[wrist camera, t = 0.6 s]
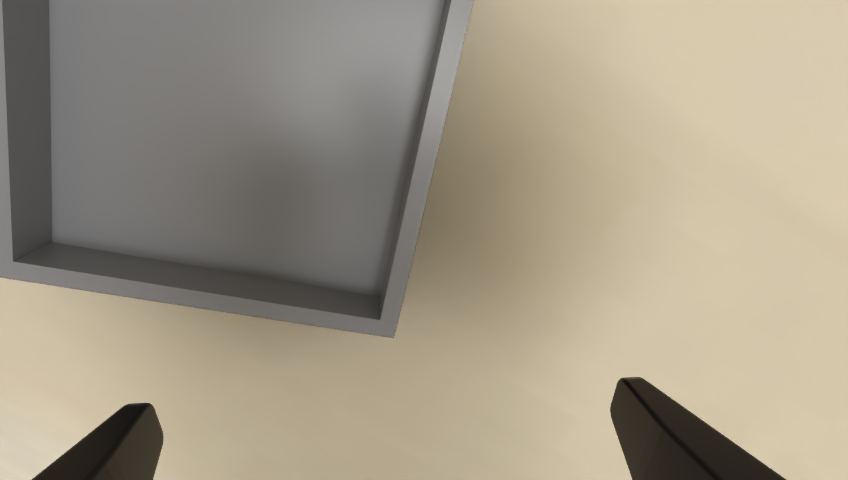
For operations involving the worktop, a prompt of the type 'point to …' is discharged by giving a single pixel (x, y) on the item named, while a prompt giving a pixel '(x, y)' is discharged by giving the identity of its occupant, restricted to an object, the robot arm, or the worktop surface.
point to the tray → (225, 150)
